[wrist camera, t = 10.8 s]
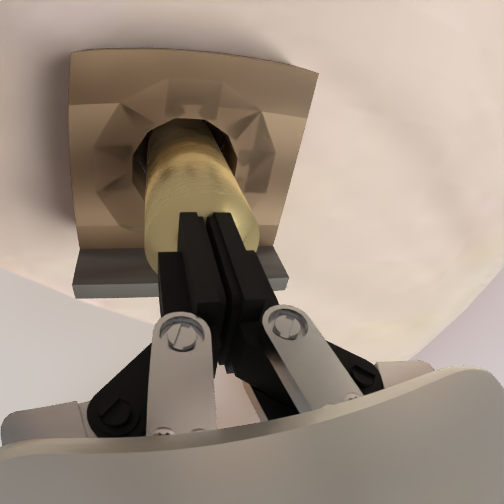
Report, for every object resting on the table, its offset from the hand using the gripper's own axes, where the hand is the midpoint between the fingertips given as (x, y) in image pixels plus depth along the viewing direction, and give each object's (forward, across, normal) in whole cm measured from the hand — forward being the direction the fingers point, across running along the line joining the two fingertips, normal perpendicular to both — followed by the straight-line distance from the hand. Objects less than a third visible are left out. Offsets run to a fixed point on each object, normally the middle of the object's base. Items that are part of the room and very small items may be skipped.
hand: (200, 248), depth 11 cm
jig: (+10, 0, 0) cm, 10 cm away
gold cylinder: (+10, 0, 0) cm, 10 cm away
